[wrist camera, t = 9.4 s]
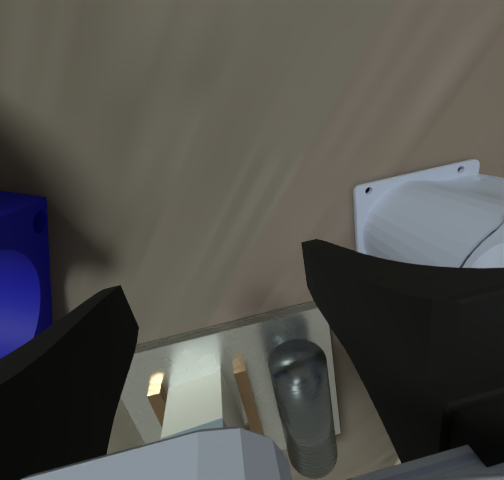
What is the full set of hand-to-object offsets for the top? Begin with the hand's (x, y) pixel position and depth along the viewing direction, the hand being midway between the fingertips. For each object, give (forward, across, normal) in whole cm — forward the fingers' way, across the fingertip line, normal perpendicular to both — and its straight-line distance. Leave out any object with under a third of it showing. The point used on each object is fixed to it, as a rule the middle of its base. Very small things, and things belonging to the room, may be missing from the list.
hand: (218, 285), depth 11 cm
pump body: (+8, +5, +16) cm, 19 cm away
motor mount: (+9, +2, +17) cm, 20 cm away
